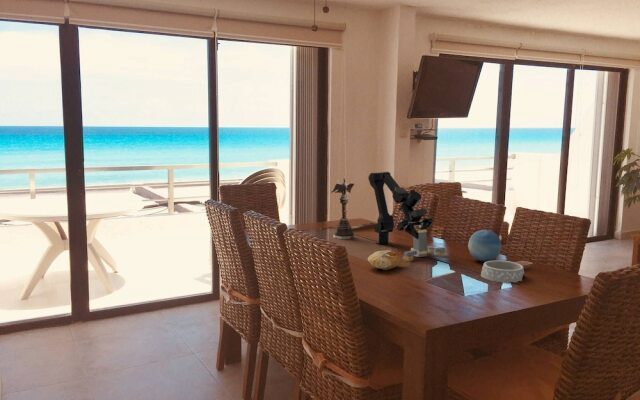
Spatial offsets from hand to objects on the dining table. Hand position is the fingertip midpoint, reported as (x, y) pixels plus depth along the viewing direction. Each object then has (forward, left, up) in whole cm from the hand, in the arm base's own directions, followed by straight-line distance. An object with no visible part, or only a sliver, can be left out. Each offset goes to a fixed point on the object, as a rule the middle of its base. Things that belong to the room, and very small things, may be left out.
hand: (422, 238), depth 267 cm
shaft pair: (+1, +1, -9) cm, 9 cm away
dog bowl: (+18, +41, -10) cm, 46 cm away
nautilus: (+27, -7, -10) cm, 29 cm away
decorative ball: (-5, +29, -9) cm, 31 cm away
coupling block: (0, -1, -9) cm, 9 cm away
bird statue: (-26, -55, -9) cm, 62 cm away
